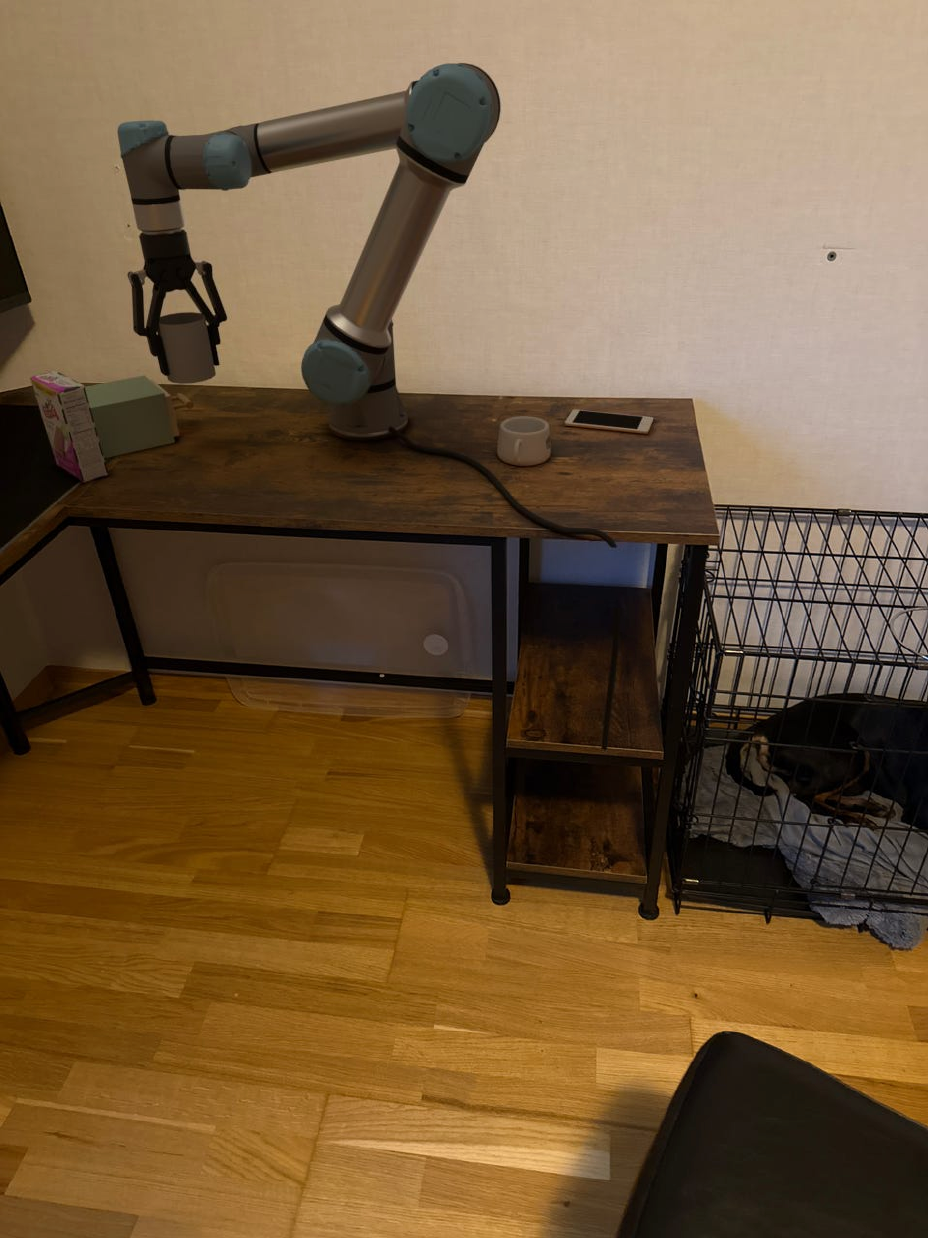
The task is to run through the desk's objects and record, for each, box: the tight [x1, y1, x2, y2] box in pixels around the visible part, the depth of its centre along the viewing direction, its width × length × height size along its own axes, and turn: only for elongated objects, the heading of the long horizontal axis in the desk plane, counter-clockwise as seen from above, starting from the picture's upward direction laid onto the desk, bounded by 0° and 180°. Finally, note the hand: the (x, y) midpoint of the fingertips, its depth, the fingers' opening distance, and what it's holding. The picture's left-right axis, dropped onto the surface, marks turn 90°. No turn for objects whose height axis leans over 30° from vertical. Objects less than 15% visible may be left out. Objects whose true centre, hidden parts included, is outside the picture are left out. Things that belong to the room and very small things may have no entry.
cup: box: [157, 311, 217, 385], centre depth 151 cm, size 8×8×10 cm
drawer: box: [149, 379, 194, 438], centre depth 164 cm, size 18×11×8 cm, turn 124°
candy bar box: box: [29, 370, 109, 484], centre depth 148 cm, size 11×5×16 cm, turn 45°
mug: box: [496, 415, 552, 467], centre depth 152 cm, size 12×10×6 cm
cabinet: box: [85, 375, 176, 459], centre depth 162 cm, size 15×13×10 cm
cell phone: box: [564, 408, 654, 435], centre depth 168 cm, size 8×16×1 cm, turn 71°
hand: (190, 368), depth 153 cm, fingers closed on cup, 8 cm apart
